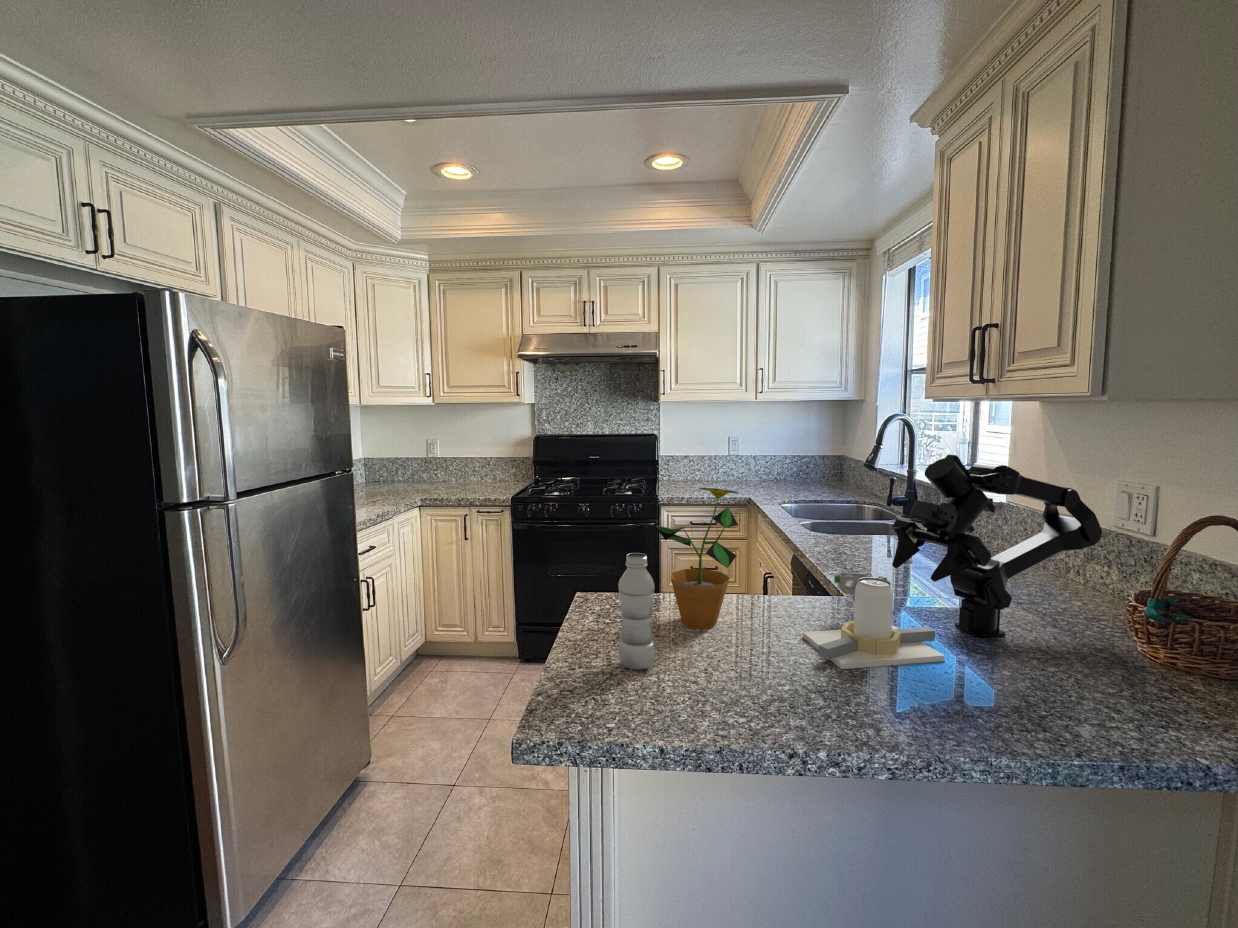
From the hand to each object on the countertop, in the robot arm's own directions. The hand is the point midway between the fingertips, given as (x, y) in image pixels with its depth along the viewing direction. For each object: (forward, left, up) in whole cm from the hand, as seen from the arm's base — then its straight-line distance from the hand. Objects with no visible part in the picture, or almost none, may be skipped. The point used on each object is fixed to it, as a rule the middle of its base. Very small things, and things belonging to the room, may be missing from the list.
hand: (912, 573), depth 106 cm
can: (+9, +2, -13) cm, 16 cm away
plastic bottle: (+55, +2, -14) cm, 56 cm away
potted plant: (+38, -16, -14) cm, 43 cm away
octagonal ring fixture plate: (+10, +2, -14) cm, 17 cm away
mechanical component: (+4, -11, -14) cm, 18 cm away
